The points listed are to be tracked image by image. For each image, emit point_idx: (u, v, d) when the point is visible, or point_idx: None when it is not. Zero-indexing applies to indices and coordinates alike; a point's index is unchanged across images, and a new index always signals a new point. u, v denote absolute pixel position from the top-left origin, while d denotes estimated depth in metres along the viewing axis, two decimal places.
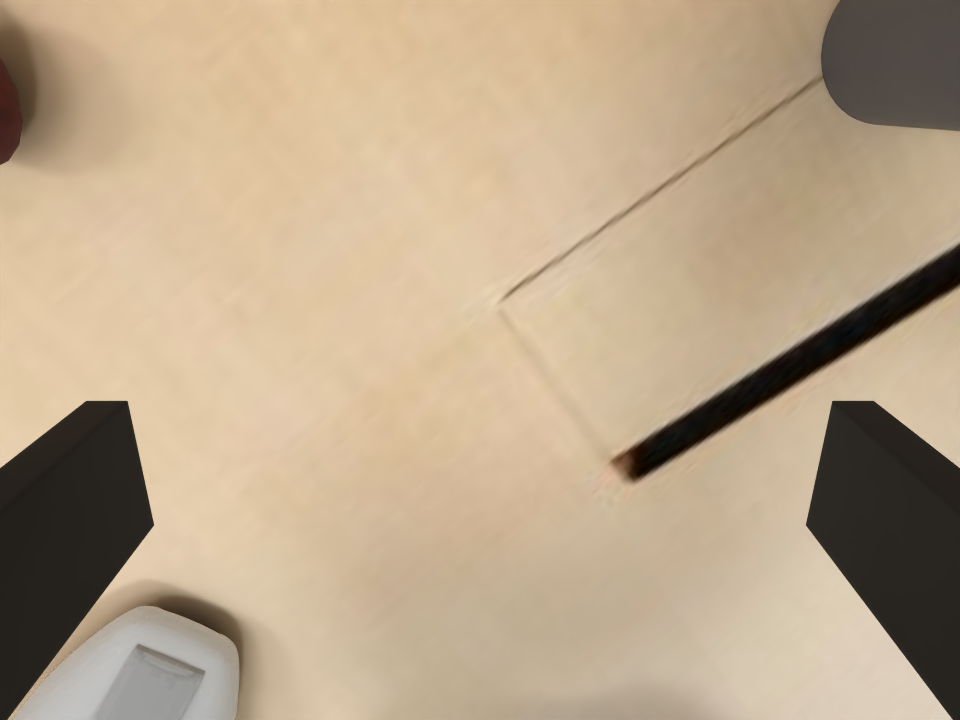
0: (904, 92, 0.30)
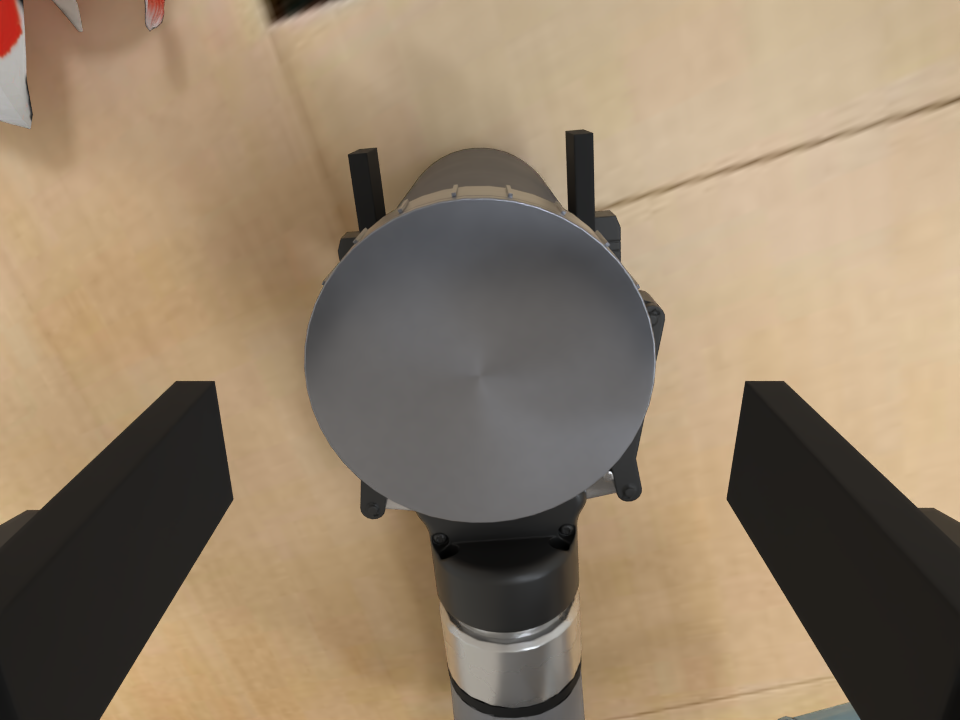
0: None
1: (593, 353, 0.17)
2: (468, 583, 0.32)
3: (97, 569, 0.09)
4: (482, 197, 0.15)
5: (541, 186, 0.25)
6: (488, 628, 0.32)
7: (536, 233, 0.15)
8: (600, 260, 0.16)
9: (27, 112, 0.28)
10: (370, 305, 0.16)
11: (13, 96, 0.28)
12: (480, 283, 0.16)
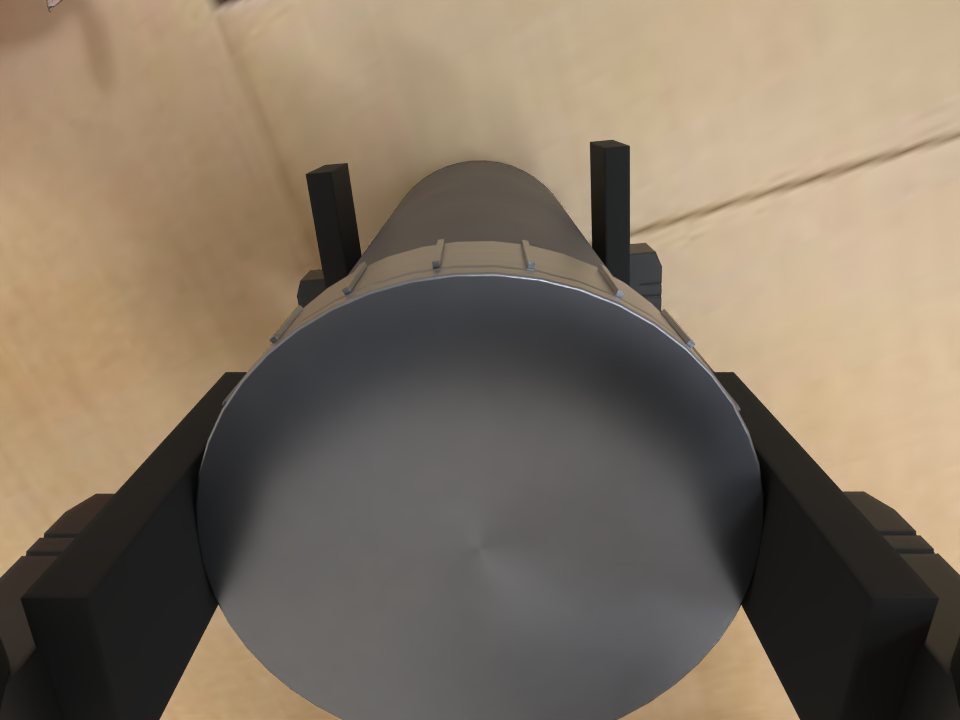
0: None
1: (664, 515, 0.10)
2: None
3: (171, 548, 0.10)
4: (484, 272, 0.09)
5: (562, 217, 0.19)
6: None
7: (575, 331, 0.09)
8: (682, 374, 0.09)
9: None
10: (299, 443, 0.10)
11: None
12: (480, 409, 0.10)
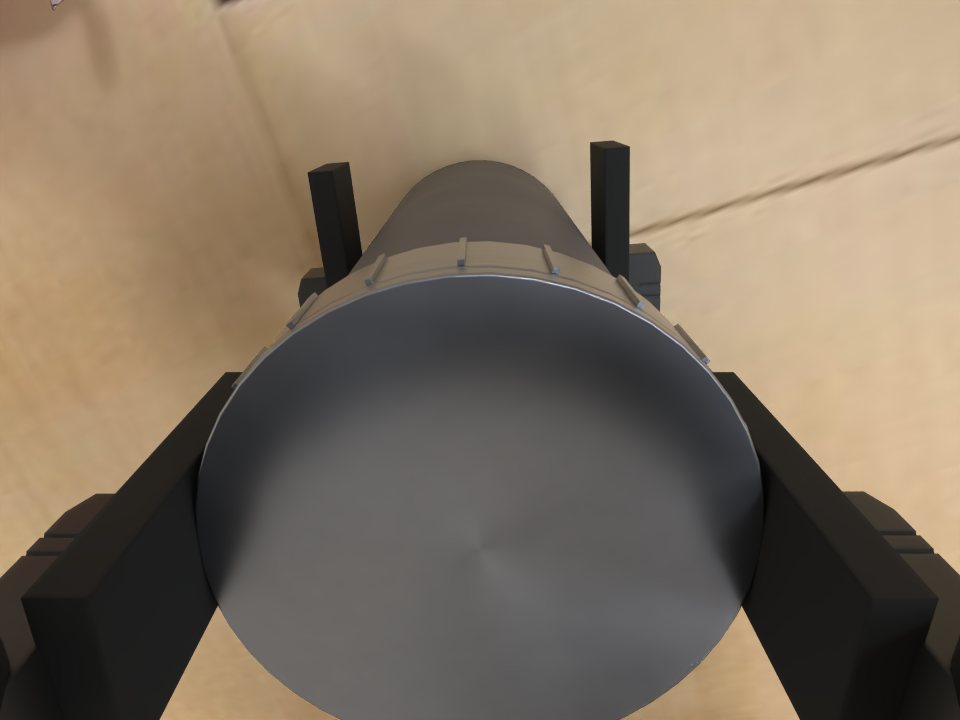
0: None
1: (408, 392, 0.09)
2: None
3: (171, 548, 0.10)
4: (208, 575, 0.11)
5: (562, 217, 0.19)
6: None
7: (233, 506, 0.10)
8: (246, 413, 0.10)
9: None
10: (395, 687, 0.11)
11: None
12: (329, 566, 0.11)
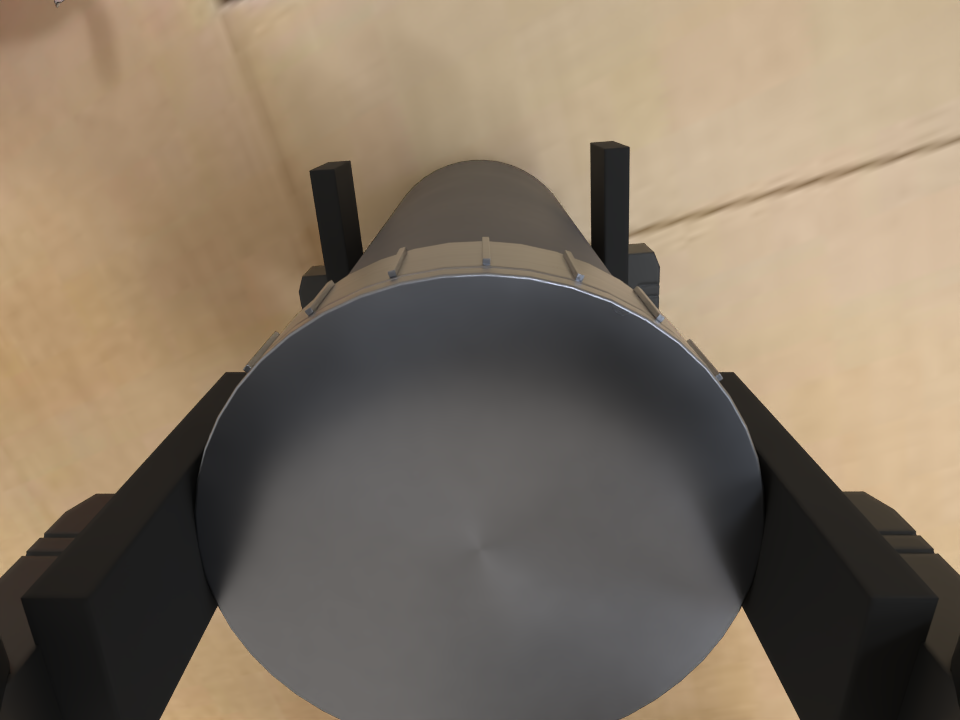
0: None
1: (325, 620, 0.11)
2: None
3: (171, 548, 0.10)
4: None
5: (562, 217, 0.19)
6: None
7: None
8: None
9: None
10: (669, 601, 0.11)
11: None
12: (519, 661, 0.11)
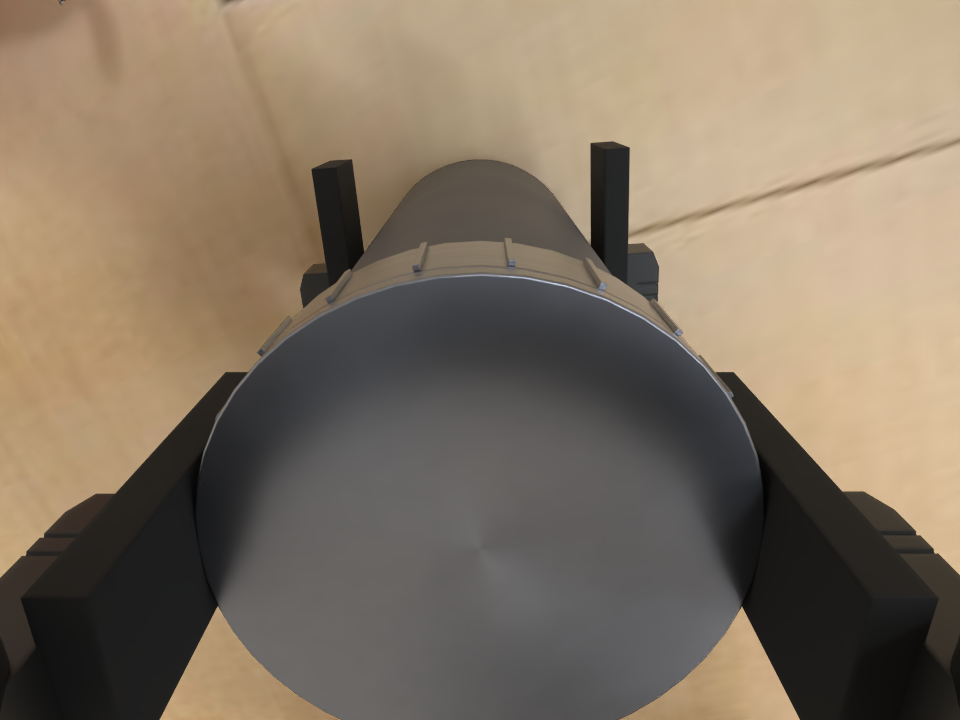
0: None
1: (583, 661, 0.11)
2: None
3: (171, 548, 0.10)
4: (752, 444, 0.10)
5: (562, 216, 0.19)
6: None
7: (726, 531, 0.10)
8: (717, 616, 0.11)
9: None
10: (520, 359, 0.09)
11: None
12: (624, 494, 0.10)
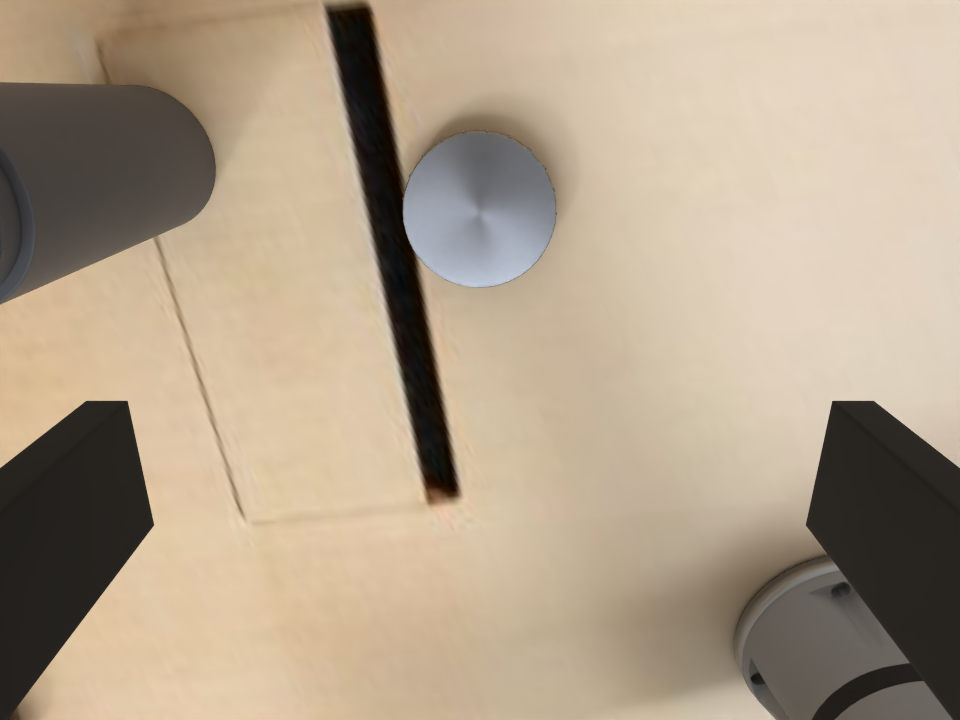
0: None
1: (509, 252, 0.39)
2: None
3: None
4: None
5: (127, 240, 0.32)
6: None
7: (545, 207, 0.38)
8: (546, 236, 0.39)
9: None
10: (489, 155, 0.37)
11: None
12: (517, 195, 0.38)
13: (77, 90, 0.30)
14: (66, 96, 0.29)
